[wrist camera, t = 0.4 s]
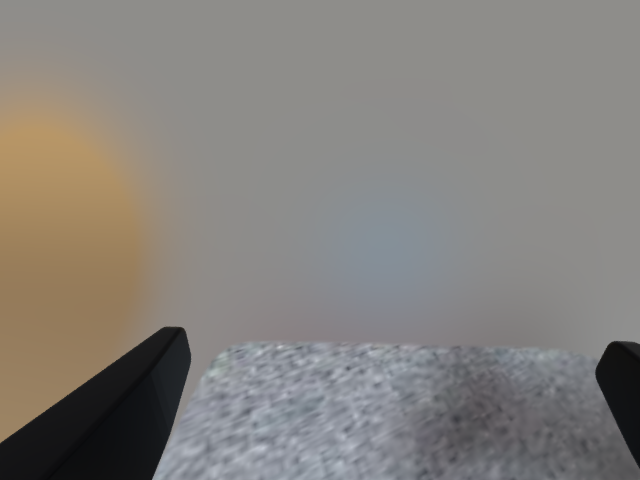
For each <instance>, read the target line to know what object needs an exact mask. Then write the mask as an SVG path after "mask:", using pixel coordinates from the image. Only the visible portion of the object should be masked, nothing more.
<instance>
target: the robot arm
mask: <svg viewBox="0 0 640 480" xmlns="http://www.w3.org/2000/svg"><path fill="white" fill-rule="evenodd" d="M190 364H191V352H190V348H189V344H188V339H187V335H186V331H185V330H184V328H182V327H164V328H162V329H160V330H159V331H157V332H156V333H154V334H153V335H152V336H150V337H149V338H147V339H146V340H145V341H143V342H142V343H140V344H139V345H138V346H136V347H135V348H133V349H132V350H130V351H129V352H128V353H126V354H125V355H123V356H122V357H121V358H120V359H118V360H116V361H115V362H114V363H112V364H111V365H110V366H108V367H107V368H106V369H104V370H102V371H101V372H100V373H98V374H97V375H95V376H94V377H93V378H91V379H90V380H88V381H87V382H86V383H84V384H83V385H81V386H80V387H78V388H77V389H76V390H74V391H73V392H71V393H70V394H69V395H67V396H66V397H64V398H63V399H62V400H60V401H59V402H57V403H56V404H55V405H53V406H52V407H50V408H49V409H48V410H46V411H45V412H43V413H42V414H41V415H39V416H38V417H36V418H35V419H33V420H32V421H31V422H29V423H28V424H26V425H25V426H24V427H22V428H21V429H19V430H18V431H17V432H15V433H14V434H12V435H11V436H10V437H8V438H7V439H5V440H4V441H2V442H1V443H0V480H152V479H153V476H154V474H155V471H156V469H157V466H158V464H159V461H160V459H161V456H162V454H163V451H164V449H165V446H166V444H167V441H168V438H169V436H170V432H171V430H172V426H173V423H174V419H175V416H176V412H177V409H178V406H179V402H180V399H181V396H182V392H183V388H184V385H185V381H186V378H187V375H188V371H189V368H190ZM595 375H596V380H597V382H598V384H599V386H600V389H601V391H602V393H603V395H604V397H605V399H606V401H607V403H608V406H609V408H610V410H611V412H612V414H613V416H614V418H615V420H616V423H617V425H618V427H619V429H620V431H621V433H622V435H623V438H624V440H625V442H626V444H627V446H628V448H629V450H630V452H631V454H632V456H633V458H634V459H635V461H636V463H637V465H638V467H639V468H640V344H638V343H635V342H626V341H614V342H611V343H610V344H609V345H608V346H607V348H606V350H605V352H604V354H603V355H602V358H601V359H600V361H599V363H598V365H597V367H596V371H595Z"/></svg>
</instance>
